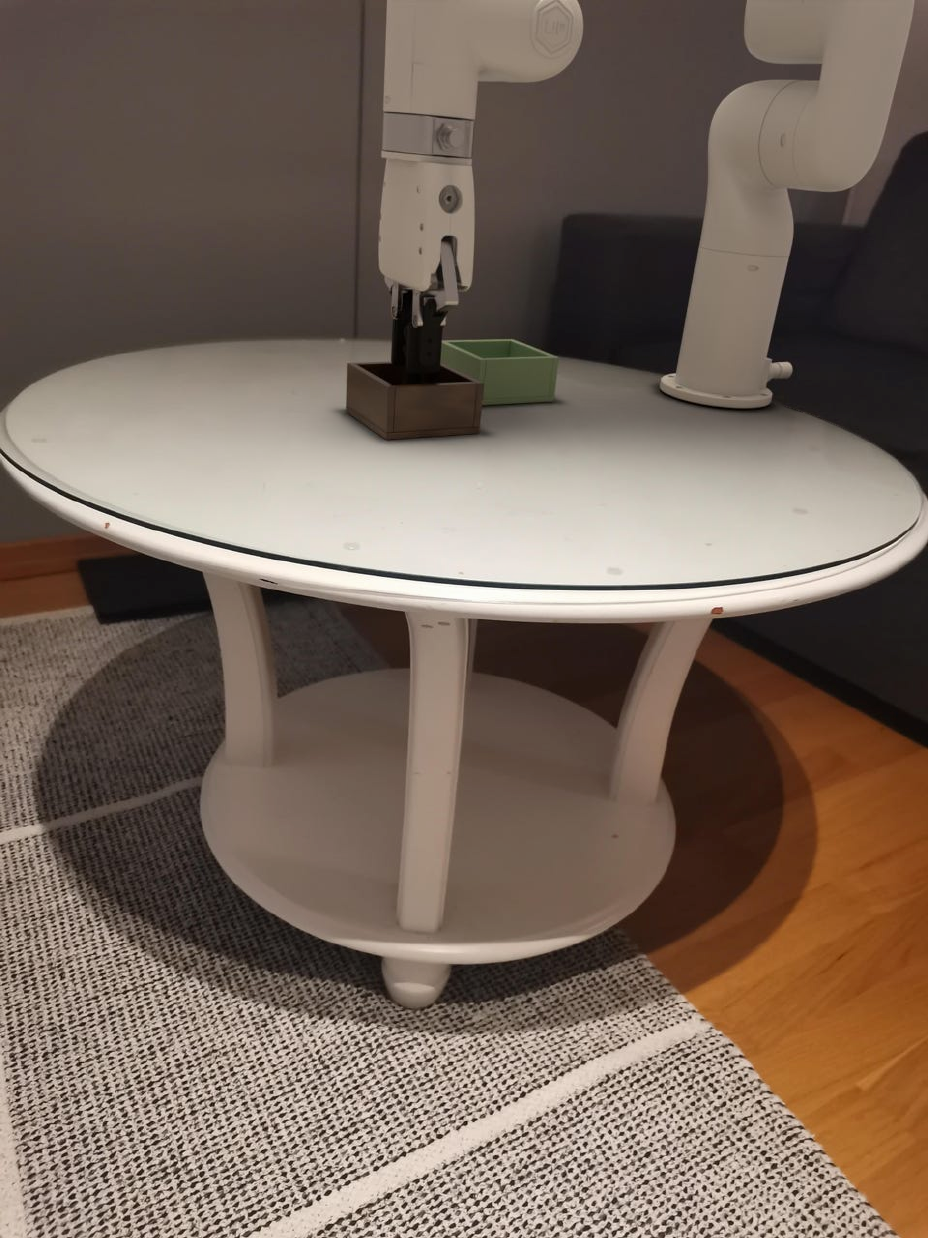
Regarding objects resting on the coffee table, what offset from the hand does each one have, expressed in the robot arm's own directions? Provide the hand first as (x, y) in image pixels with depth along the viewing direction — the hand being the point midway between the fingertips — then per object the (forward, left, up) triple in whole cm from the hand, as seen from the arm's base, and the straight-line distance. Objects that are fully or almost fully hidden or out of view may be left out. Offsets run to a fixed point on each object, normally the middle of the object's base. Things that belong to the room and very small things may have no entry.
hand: (415, 366), depth 86 cm
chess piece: (0, 0, -5) cm, 5 cm away
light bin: (-14, -9, -5) cm, 17 cm away
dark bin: (0, 0, -5) cm, 5 cm away
